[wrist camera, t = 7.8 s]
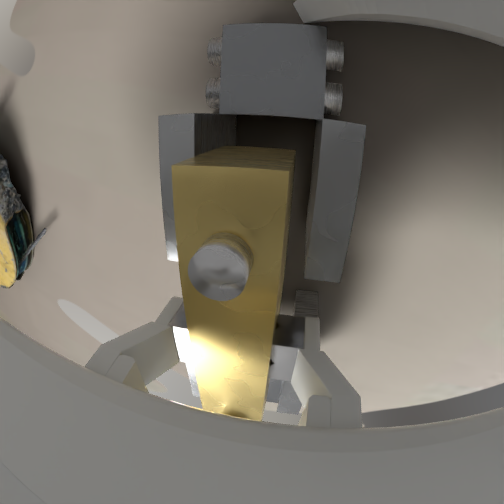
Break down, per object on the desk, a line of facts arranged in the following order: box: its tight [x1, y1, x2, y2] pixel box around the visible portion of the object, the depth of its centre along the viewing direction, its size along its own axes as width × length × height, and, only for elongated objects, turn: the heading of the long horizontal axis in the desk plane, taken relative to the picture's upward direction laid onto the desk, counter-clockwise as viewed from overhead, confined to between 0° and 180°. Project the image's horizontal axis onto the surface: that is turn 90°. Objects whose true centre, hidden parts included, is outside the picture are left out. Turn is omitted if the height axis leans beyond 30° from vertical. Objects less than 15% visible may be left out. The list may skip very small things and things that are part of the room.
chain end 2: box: [186, 290, 318, 414], centre depth 15 cm, size 6×9×5 cm, turn 178°
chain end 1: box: [159, 23, 366, 283], centre depth 9 cm, size 6×9×5 cm, turn 178°
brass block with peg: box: [171, 146, 296, 421], centre depth 9 cm, size 2×12×5 cm, turn 178°
